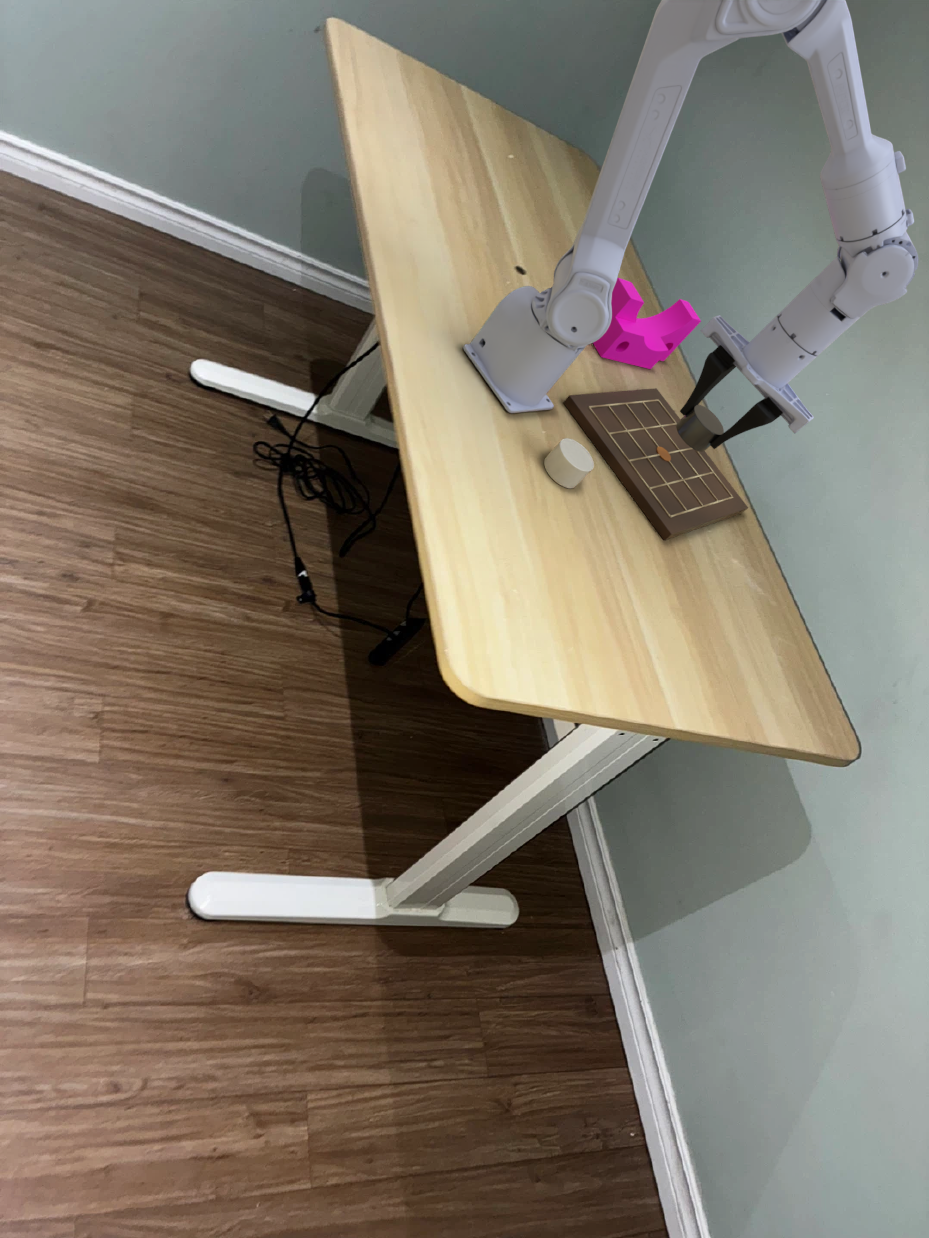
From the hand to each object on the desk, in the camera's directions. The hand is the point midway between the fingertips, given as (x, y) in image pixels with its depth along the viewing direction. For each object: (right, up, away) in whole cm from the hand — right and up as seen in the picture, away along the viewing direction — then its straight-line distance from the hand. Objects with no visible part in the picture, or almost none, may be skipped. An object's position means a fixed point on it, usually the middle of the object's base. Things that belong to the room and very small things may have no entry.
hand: (699, 428), depth 90 cm
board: (-3, -2, +9) cm, 10 cm away
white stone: (-16, -6, -4) cm, 17 cm away
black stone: (-1, -1, +1) cm, 1 cm away
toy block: (-4, +16, +22) cm, 28 cm away
